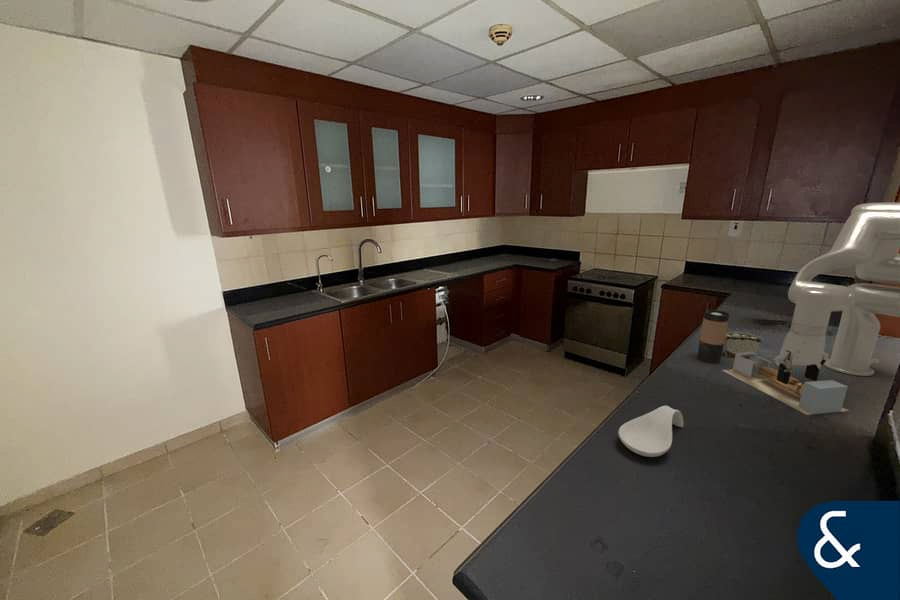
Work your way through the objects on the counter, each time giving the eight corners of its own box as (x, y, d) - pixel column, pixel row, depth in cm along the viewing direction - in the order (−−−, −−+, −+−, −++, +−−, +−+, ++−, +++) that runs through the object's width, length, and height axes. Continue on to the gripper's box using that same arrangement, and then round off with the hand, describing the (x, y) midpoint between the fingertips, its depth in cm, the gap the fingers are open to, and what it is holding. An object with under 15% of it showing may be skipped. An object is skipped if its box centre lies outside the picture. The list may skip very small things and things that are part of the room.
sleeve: (749, 369, 131) (752, 351, 129) (767, 378, 124) (771, 359, 122) (732, 370, 130) (735, 352, 129) (750, 379, 124) (754, 360, 122)
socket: (825, 404, 108) (832, 379, 106) (840, 411, 104) (847, 386, 102) (798, 406, 107) (804, 382, 105) (812, 414, 103) (819, 388, 101)
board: (756, 370, 133) (757, 367, 132) (849, 413, 105) (850, 410, 104) (721, 372, 131) (722, 370, 131) (805, 417, 103) (806, 414, 103)
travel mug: (724, 366, 136) (733, 316, 131) (701, 365, 137) (710, 315, 132) (714, 358, 143) (722, 310, 138) (692, 357, 145) (700, 309, 139)
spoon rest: (655, 472, 84) (659, 445, 83) (608, 446, 94) (610, 422, 92) (696, 433, 98) (700, 409, 96) (651, 414, 107) (654, 392, 105)
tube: (756, 377, 122) (759, 365, 121) (767, 376, 123) (770, 364, 122) (814, 405, 105) (817, 392, 104) (826, 404, 106) (830, 391, 104)
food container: (752, 356, 144) (756, 332, 142) (759, 362, 139) (764, 338, 136) (715, 353, 148) (719, 330, 146) (721, 358, 143) (725, 335, 140)
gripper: (820, 322, 112) (808, 372, 117) (769, 327, 111) (759, 377, 115) (848, 330, 105) (834, 383, 109) (795, 335, 103) (783, 389, 108)
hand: (796, 380), depth 112 cm, fingers open, 9 cm apart
